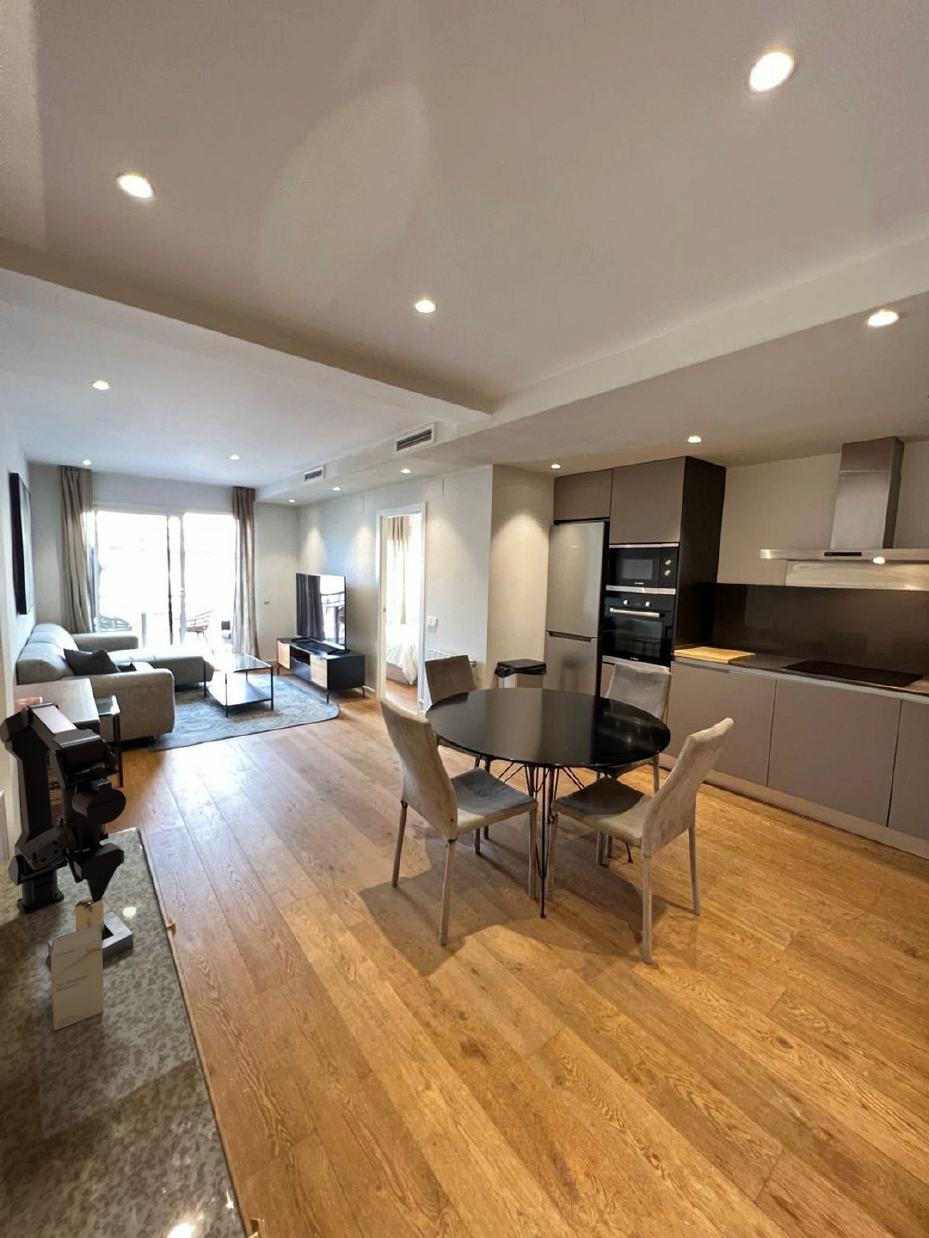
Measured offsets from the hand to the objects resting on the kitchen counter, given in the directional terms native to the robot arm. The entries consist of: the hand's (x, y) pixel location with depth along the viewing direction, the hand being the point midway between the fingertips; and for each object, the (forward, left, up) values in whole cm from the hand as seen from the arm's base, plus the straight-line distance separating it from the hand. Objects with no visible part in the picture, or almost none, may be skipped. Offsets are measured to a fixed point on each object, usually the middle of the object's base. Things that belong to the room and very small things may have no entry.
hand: (88, 891), depth 90 cm
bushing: (0, 0, -11) cm, 11 cm away
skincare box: (+14, -6, -12) cm, 19 cm away
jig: (0, 0, -11) cm, 11 cm away
